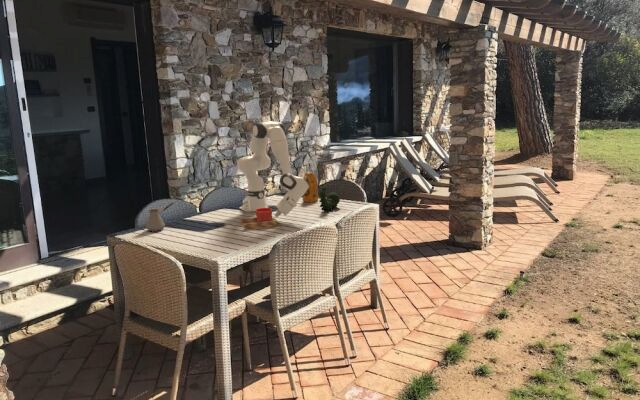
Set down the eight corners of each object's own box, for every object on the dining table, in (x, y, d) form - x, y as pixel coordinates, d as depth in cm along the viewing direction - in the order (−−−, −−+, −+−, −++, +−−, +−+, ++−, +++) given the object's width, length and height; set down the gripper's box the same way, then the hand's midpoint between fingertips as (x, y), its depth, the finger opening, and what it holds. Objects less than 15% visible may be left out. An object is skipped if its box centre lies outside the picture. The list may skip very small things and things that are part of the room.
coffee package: (300, 202, 377) (299, 173, 373) (309, 199, 388) (307, 171, 383) (311, 203, 372) (310, 174, 368) (320, 200, 383) (318, 171, 378)
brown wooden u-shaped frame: (274, 220, 324) (273, 215, 323) (279, 226, 308) (278, 220, 307) (241, 223, 318) (240, 218, 318) (244, 230, 302) (243, 224, 302)
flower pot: (276, 222, 317) (275, 207, 315) (268, 227, 307) (267, 211, 305) (261, 222, 321) (259, 207, 319) (253, 226, 310) (252, 211, 309)
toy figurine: (329, 215, 336) (344, 205, 358) (327, 188, 331) (342, 179, 353) (317, 215, 341) (332, 204, 362) (314, 188, 335) (330, 179, 357)
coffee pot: (153, 233, 304) (151, 209, 301) (142, 231, 311) (139, 207, 308) (181, 225, 321) (179, 202, 318) (170, 223, 328) (168, 201, 325)
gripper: (283, 194, 324) (269, 210, 324) (289, 199, 305) (274, 216, 304) (290, 200, 326) (276, 216, 326) (297, 206, 307) (282, 223, 306)
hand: (275, 216), depth 315 cm, fingers closed
